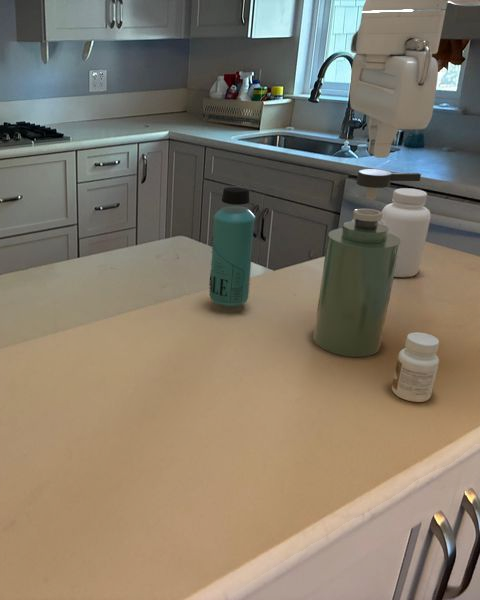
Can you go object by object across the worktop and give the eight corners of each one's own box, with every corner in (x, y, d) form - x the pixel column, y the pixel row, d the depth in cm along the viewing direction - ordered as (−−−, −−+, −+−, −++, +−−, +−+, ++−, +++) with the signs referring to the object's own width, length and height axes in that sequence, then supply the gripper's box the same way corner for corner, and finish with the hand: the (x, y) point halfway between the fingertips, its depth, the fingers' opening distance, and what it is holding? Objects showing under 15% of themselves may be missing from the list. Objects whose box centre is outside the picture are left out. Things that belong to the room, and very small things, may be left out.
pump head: (409, 196, 82) (414, 169, 81) (420, 203, 78) (426, 175, 77) (350, 195, 83) (354, 168, 82) (358, 203, 79) (363, 175, 78)
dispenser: (369, 329, 93) (392, 203, 85) (388, 358, 85) (416, 222, 77) (307, 327, 94) (325, 202, 86) (320, 355, 86) (341, 221, 78)
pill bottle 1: (416, 281, 110) (433, 199, 103) (367, 273, 113) (381, 193, 107) (420, 267, 116) (437, 188, 110) (374, 260, 120) (388, 184, 113)
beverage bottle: (252, 303, 103) (264, 184, 95) (240, 318, 97) (251, 194, 89) (215, 296, 106) (223, 180, 98) (201, 310, 100) (208, 190, 92)
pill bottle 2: (397, 380, 80) (409, 326, 76) (435, 392, 77) (448, 337, 74) (385, 394, 77) (397, 339, 74) (424, 407, 74) (437, 350, 71)
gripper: (464, 39, 63) (435, 173, 69) (397, 36, 82) (379, 142, 87) (399, 40, 64) (376, 173, 70) (348, 37, 83) (333, 142, 88)
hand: (377, 155), depth 79 cm, fingers closed
